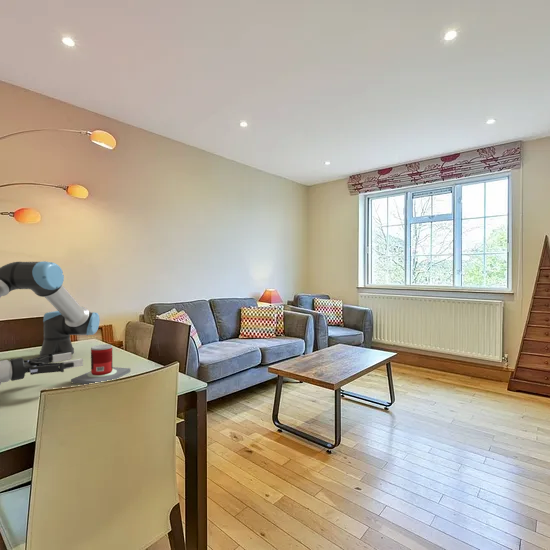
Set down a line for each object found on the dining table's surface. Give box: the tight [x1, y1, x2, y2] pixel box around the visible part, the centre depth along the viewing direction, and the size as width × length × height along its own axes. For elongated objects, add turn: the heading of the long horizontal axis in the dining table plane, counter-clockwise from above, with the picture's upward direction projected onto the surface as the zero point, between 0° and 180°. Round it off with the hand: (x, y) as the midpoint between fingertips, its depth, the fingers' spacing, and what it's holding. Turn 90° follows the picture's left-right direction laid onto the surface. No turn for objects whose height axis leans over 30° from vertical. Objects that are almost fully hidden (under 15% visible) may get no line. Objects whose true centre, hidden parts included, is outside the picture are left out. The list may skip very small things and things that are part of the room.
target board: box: [70, 366, 131, 385], centre depth 142 cm, size 18×14×2 cm
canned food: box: [90, 344, 113, 375], centre depth 142 cm, size 8×8×11 cm
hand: (76, 358), depth 135 cm, fingers open, 13 cm apart
